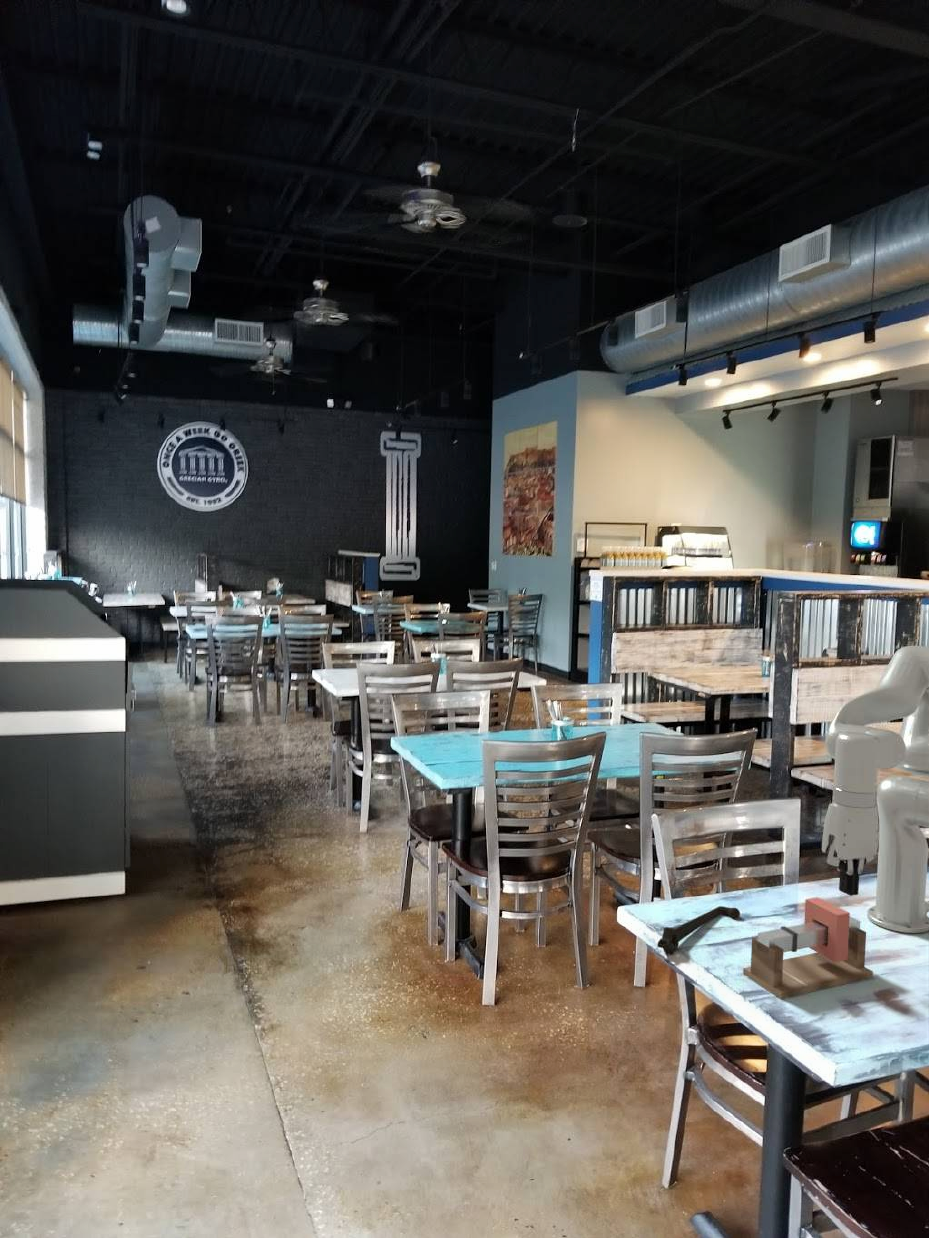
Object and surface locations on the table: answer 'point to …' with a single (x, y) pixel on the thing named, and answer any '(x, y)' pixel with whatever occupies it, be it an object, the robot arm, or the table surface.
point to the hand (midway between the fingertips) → (848, 892)
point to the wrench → (691, 928)
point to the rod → (800, 936)
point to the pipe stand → (806, 968)
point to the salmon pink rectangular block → (829, 927)
